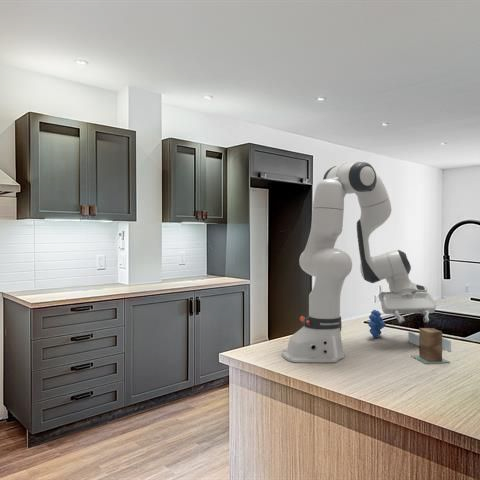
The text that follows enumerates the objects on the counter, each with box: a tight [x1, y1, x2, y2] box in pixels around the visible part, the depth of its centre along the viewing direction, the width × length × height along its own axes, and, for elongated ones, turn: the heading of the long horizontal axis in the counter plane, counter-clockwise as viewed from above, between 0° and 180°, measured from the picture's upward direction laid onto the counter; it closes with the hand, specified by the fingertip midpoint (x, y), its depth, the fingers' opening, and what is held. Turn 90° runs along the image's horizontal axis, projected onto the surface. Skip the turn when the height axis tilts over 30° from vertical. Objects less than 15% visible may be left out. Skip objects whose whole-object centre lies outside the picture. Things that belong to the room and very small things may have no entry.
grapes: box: [368, 309, 387, 339], centre depth 182 cm, size 12×7×12 cm, turn 143°
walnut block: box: [418, 327, 443, 362], centre depth 151 cm, size 5×6×10 cm
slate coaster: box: [410, 354, 451, 365], centre depth 151 cm, size 9×9×1 cm
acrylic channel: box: [407, 331, 452, 352], centre depth 169 cm, size 8×16×4 cm, turn 9°
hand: (414, 321), depth 162 cm, fingers open, 8 cm apart
